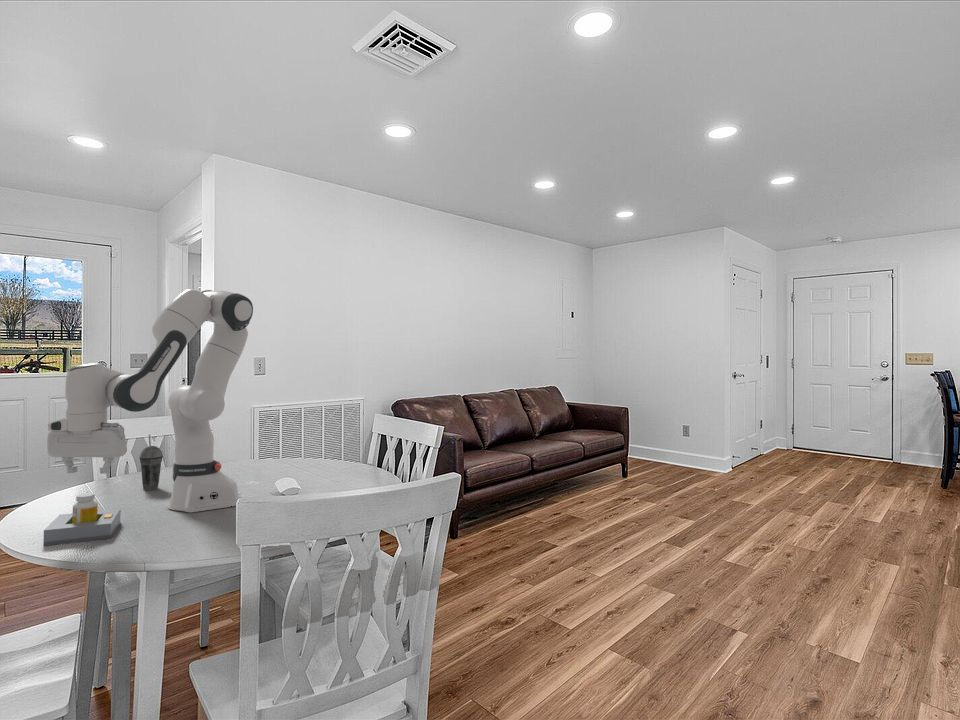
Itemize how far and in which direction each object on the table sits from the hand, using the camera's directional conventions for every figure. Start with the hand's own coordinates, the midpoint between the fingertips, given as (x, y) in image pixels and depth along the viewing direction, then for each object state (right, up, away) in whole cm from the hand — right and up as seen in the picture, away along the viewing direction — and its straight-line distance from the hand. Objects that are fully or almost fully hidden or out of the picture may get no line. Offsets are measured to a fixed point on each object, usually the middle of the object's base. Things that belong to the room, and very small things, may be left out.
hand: (88, 472), depth 138 cm
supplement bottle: (-1, -16, -1) cm, 16 cm away
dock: (-1, -16, -1) cm, 16 cm away
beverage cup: (-13, -16, +46) cm, 50 cm away
